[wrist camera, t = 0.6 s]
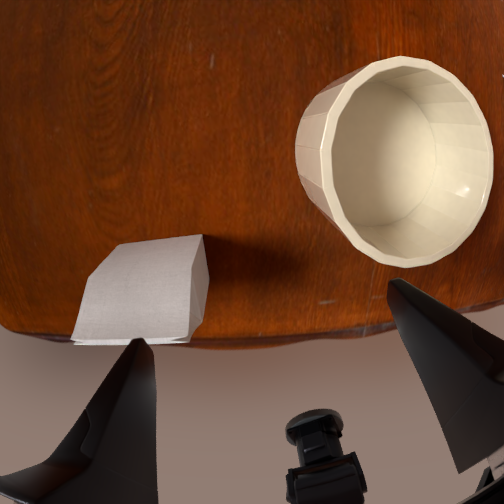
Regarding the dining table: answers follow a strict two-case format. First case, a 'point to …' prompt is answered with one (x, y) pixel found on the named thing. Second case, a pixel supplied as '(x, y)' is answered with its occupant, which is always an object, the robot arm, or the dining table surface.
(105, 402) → the robot arm
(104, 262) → the tea bag
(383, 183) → the holder
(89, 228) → the dining table surface
